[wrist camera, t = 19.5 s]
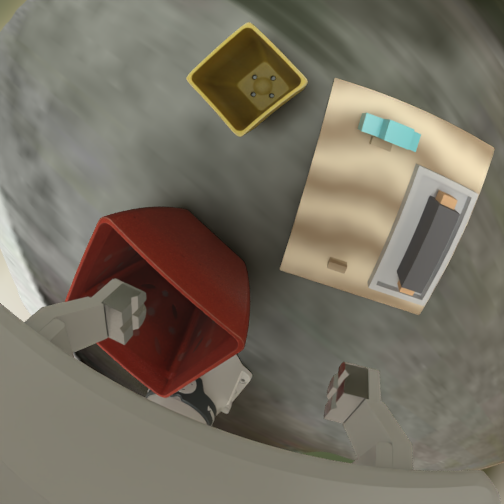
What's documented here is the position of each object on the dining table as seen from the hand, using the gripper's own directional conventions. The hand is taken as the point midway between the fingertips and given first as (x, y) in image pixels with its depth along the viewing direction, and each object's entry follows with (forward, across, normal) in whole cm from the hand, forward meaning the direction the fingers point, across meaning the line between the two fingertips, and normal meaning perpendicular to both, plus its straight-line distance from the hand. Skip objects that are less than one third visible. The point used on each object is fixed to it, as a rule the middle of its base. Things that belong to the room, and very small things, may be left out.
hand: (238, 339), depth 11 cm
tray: (+28, -16, +2) cm, 32 cm away
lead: (+28, -16, +2) cm, 32 cm away
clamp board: (+29, -11, 0) cm, 31 cm away
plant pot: (+29, +13, +17) cm, 36 cm away
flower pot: (+29, +8, -10) cm, 32 cm away
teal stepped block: (+28, -7, -9) cm, 30 cm away
